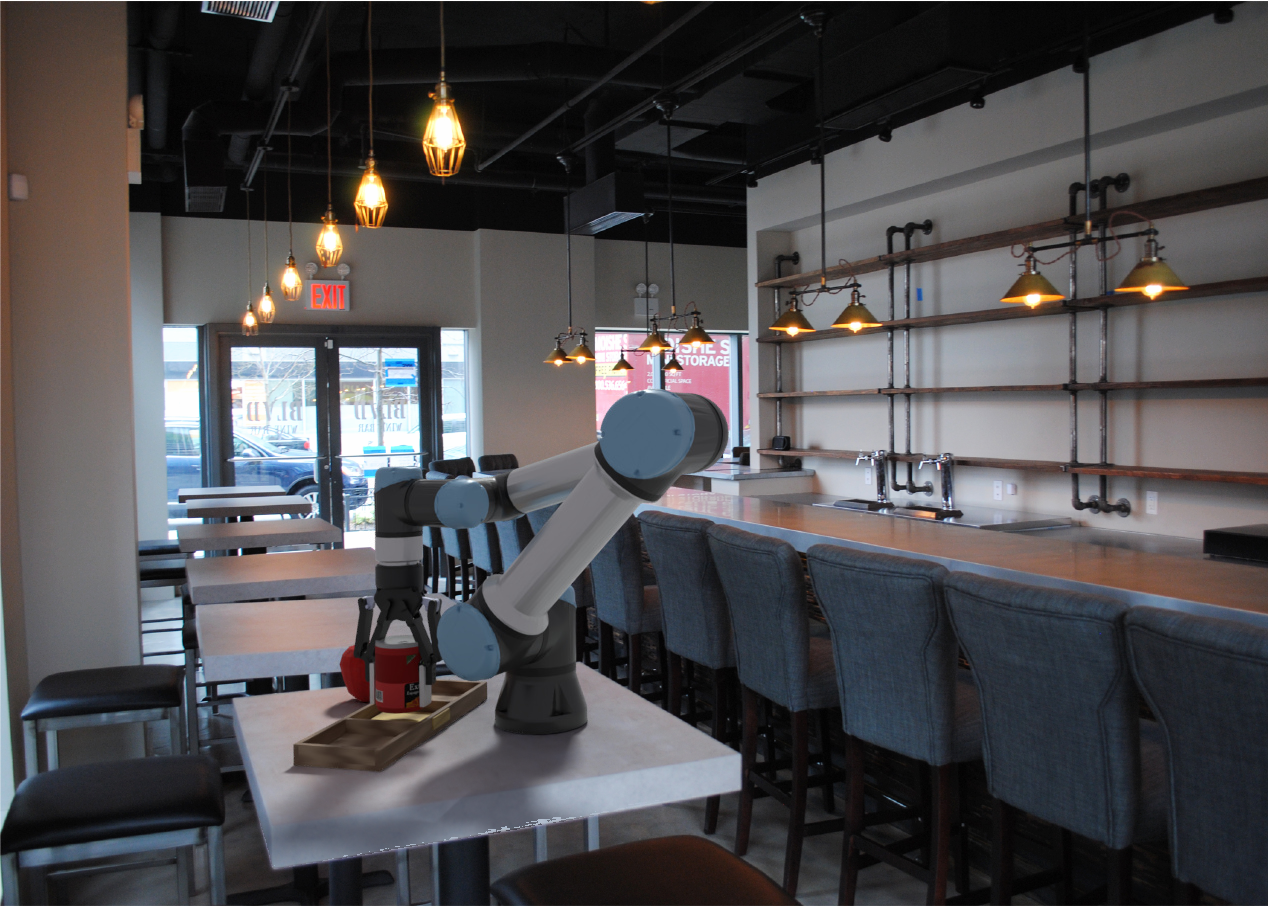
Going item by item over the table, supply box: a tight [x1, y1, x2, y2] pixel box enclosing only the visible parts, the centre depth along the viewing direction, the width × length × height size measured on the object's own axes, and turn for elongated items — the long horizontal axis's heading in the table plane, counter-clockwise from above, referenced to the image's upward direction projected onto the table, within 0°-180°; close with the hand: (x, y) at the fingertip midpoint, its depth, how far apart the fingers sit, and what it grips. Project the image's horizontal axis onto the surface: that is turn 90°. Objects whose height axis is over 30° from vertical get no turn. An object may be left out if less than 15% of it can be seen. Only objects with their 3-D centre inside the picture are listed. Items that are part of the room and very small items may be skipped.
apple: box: [339, 639, 371, 703], centre depth 172 cm, size 10×10×11 cm
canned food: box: [375, 634, 424, 714], centre depth 154 cm, size 8×8×11 cm
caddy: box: [292, 678, 488, 773], centre depth 154 cm, size 14×39×3 cm, turn 167°
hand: (400, 703), depth 154 cm, fingers closed on canned food, 8 cm apart
